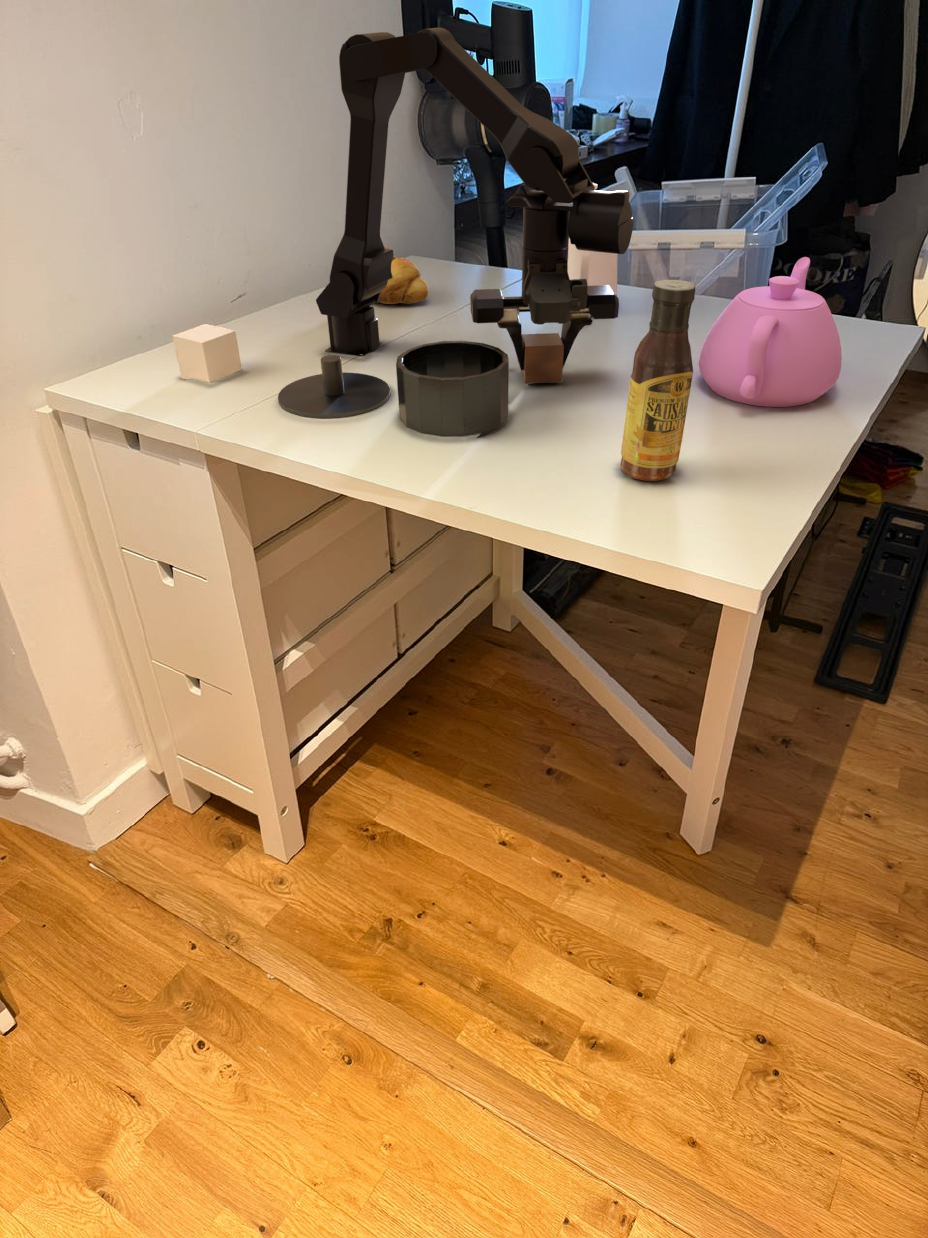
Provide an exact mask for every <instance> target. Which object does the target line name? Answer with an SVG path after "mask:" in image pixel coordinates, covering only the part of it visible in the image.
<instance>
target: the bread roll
mask: <svg viewBox="0 0 928 1238" xmlns="http://www.w3.org/2000/svg"><path fill="white" fill-rule="evenodd" d="M384 248H385V249H390V248H389V247H387V246H384ZM391 272H392V278H391V279H389V280H388V283H387V285H386V287H385V289H383V290H382V291H381V294H380V298H379V302H378V303H380V304H384V305H397V304H399V303H400V304H407V305H411V304H416V303H420V302H423V301H425V300H426V299H427V298H428V294H429V288H428V283H427V282H426V281H425V279H423V278H421V275H422V273H421V271H420V269H419V267H417V265H416V264H415V263H414V262H413V261H412V260H410V259H407V258H405V257H397V256H396V254H395V253H394V252H393V259H392V264H391Z"/></svg>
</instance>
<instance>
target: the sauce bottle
mask: <svg viewBox="0 0 928 1238" xmlns="http://www.w3.org/2000/svg"><path fill="white" fill-rule="evenodd" d="M695 295H696V285H695V284H694V282H690V281H686V280H680V279H661V280H657V281H655V282H654V284H653V287H652V292H651V297H652V301H653V303H652V310H651V317H650V321H649V325H648V326H649V330H648V332H647V333H646V335H645V336H643V338H642V339H641V340H640V341H639V343H638V346H637V348H636V350H635V352H634V356H633V366H632V371H631V375H630V379H629V388H628V395H627V403H626V411H625V418H624V427H623V433H622V442H621V449H620V450H621V451H620V455H621V459H620V469H621V471H622V472H623V473H624V474H625V475H626V476H627V477H629V478H631V479H636V480H640V481H647V482H648V481H649V482H655V481H656V482H659V481H664V480H666V479H667V478H670V477H672V476H673V475H674V474H675V472H676V470H677V464H678V463H679V459H680V454H681V447H682V443H683V437H684V430H685V424H686V418H687V413H688V412H687V411H688V405H689V400H690V394H691V387H692V383H693V382H692V381H693V378H694V377H693V376H694V367H693V358H692V347H691V343H690V340H689V328H690V324H689V321H690V316H691V309H692V305H693V303H694V301H695V297H696V296H695Z"/></svg>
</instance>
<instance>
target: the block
mask: <svg viewBox="0 0 928 1238" xmlns="http://www.w3.org/2000/svg"><path fill="white" fill-rule="evenodd" d="M522 343H523V353H524V370H521V369H520V371H521V375H522V379H523V381H524V384H547V383H548V384H550V383H563V375H564V374H563V373H564V372H563V371H564V367H563V354H564V344H563V342H562V340H561V335H560V333H559V332H551V333H550V332H549V333H548V332H547V333H523V334H522Z"/></svg>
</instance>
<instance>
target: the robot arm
mask: <svg viewBox="0 0 928 1238" xmlns="http://www.w3.org/2000/svg"><path fill="white" fill-rule="evenodd" d="M338 55H339V56H338V64H339V65H338V66H339V76H340V77H339V79H340V88H341V93H342V96H343V98H344V102H345V104H346V107H347V109H348V112H349V118H350V119H349V120H350V122H349V123H350V124H349V140H348V157H347V162H348V163H347V177H346V179H347V180H346V194H345V195H346V196H345V197H346V198H345V215H344V232H343V234H342V237H341V239H340V241H339V243H338V246H337V247H336V250H335V252H334V254H333V258H332V262H331V268H330V273H329V282H328V284H327V285H326V286H325V287H324V289H323V290H322V291H321V292H320V294H319V295H318V296H317V298H315V303H316V305H317V308H318V310H319V313H320V315H323V316H326V319H327V326H328V327H327V328H328V337H329V343H330V344H329V346H330V347H328V348H326V349H325V350H324V351H325V353H332V354H340V355H346V356H347V355H348V356H353V357H365V356H366V355H368V354H369V353H372V352H373V351H375V350H377V349H378V348H379V347H380V346H381V345H382V344H383V342H382V341H380V331H379V320H378V318H377V317H376V315H375V314H376V313H375V307H374V306H372V305H374V304H377V303H380V302H379V298H380V294H381V291H382V290H383V289H385V287H386V285H387V283H388V280H389V279H391V278H392V272H391V264H392V259H393V253H394V250H393V249H392V248H389V249H385V248H384V247H385V245H384V243H383V241H382V237H381V222H382V211H383V198H384V188H385V187H384V185H385V175H386V174H385V173H386V159H387V147H388V135H389V123H390V118H391V116H392V114H393V111H394V110H395V107H396V105H397V103H398V101H399V98H400V96H401V94H402V90H403V85H404V80H405V77H406V74H407V73H412V72H417V71H422V70H424V71H426V72H427V74H429V75H430V76H431V77H432V78H433V79H434V80H435V81H436V82H437V83H439V84H440V85H441V86H442V87H443V88H444V90H446V91H447V93H449V94H450V95H451V96H452V97H453V98H454V99H455V100H456V101H457V102H458V103H459V104H460V105H461V106H463V108H464V109H466V111H467V112H468V113H470V114H471V115H472V117H473V118H475V119H476V120H477V122H479V123H480V124H481V125H482V126H483V127H484V128H485V129H486V130H487V131H488V132H489V133H490V134H491V135H492V136H493V137H494V138H495V139H496V141H497V142H498V143H499V144H500V147H501V149H502V151H503V154H504V156H505V158H506V160H507V163H508V164H509V165H510V167H511V168H512V169H513V170H514V172H515V173H516V175H517V176H518V177H519V179H520V180H521V182H522V183H523V184H520V185H519V186H518V188H517V190H516V191H515V193H514V194H512V196H511V197H510V198H508V199H507V200H506V206H507V207H514V208H523V209H522V210H523V211H522V213H523V216H522V256H521V257H522V259H521V260H522V264H521V269H522V270H521V296H520V295H519V296H503V293H502V290H501V288H483V289H481V288H479V289H474V290H473V291H472V293H470V313H471V319H472V322H473V323H474V324H497V327H498V328H499V329H505V330H506V331H507V333H508V335H509V337H510V339H511V342H512V344H513V347H514V352H515V355H516V359H517V362H518V365H519V369H520V371H521V370H524V353H523V343H522V333H523V332H522V323H521V319H520V313H528V312H529V314H530V320H531V322H532V323H533V324H535V325H539V326H540V325H544V324H555V323H556V324H559V325H561V326H562V327H561V334H560V338H561V340H562V342H563V344H564V354H563V368H565V366H566V362H567V360H568V357H569V355H570V353H571V349H572V347H573V345H574V342H575V340H576V339H577V337H578V335H579V333H580V332H581V331H582V330H583V329H584V328H585V327H586V326H591V325H592V324H593V320H608V319H609V320H611V319H612V320H613V319H615V320H616V319H617V318H619V309H620V300H619V299H620V298H619V297H618V294H617V295H616V294H615V293H614V291H613V290H612V289H611V287H610V286H609V285H598V286H588V285H587V280H586V279H573V280H570V279H569V275H568V246H569V238H570V242H571V244H574V245H575V246H576V248H577V249H578V250H584V251H594V252H604V253H614V254H617V255H624V254H625V253H626V252H627V250H628V248H629V245H630V243H631V239H632V235H633V229H634V222H635V218H634V217H633V209H632V208H633V207H632V205H631V202H630V195H631V193H630V191H629V190H623V189H622V190H621V189H619V190H613V191H610V190H609V191H607V190H597V189H595V187H594V185H593V183H594V182H593V181H592V180H591V178H590V176H589V174H588V172H587V170H586V169H585V167H584V165H583V164H582V162H581V160H580V153H579V149H580V147H579V143H578V142H577V140H576V139H575V137H574V136H573V134H571V133H570V132H568V131H567V130H566V129H564V128H562V127H561V126H559V125H558V124H556V123H555V122H553V121H552V120H550V119H549V118H547V117H544V116H542V115H540V114H538V113H535V112H533V111H532V110H530V109H528V108H527V107H526V106H524V105H522V104H521V102H519V101H518V100H517V99H516V98H515V97H514V96H513V95H512V94H511V93H510V92H509V91H508V90H507V89H506V88H505V87H504V86H503V85H502V84H501V83H500V82H499V81H498V80H497V79H496V78H495V77H493V75H492V74H491V73H490V72H488V71H487V69H485V68H484V66H482V65H481V64H480V63H479V62H478V61H477V60H476V59H475V58H474V57H473V56H472V55H471V54H470V53H469V52H468V51H467V50H466V49H465V48H463V46H461V44H459V42H458V41H456V39H455V37H454V35H453V34H452V33H451V32H450V31H449V30H447V29H446V28H444V27H432V28H423V29H420V30H418V32H415V33H411V34H405V35H400V36H395V35H394V34H392V33H390V32H387V31H381V32H378V31H377V32H368V33H367V32H366V33H356V34H354V35H352V36H349V37H348V38H347V39H346V40H345V42H344V43H342V45H341V46H340V50H339V54H338ZM592 182H593V183H592ZM594 189H595V190H594ZM590 315H591V316H590Z"/></svg>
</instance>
